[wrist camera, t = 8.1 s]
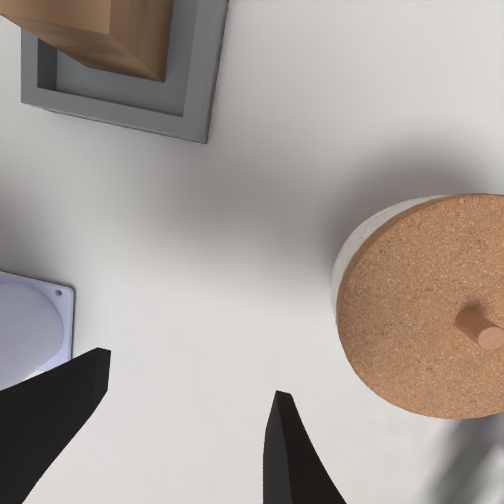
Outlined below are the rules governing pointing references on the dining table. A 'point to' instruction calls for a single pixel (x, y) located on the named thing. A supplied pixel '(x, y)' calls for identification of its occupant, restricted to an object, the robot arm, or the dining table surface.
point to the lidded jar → (427, 304)
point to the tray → (136, 79)
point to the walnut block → (101, 32)
